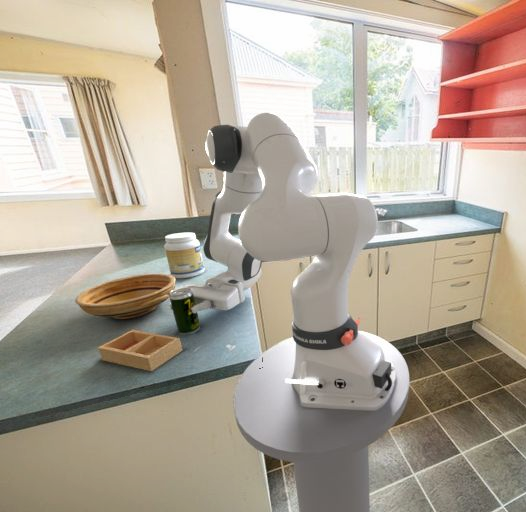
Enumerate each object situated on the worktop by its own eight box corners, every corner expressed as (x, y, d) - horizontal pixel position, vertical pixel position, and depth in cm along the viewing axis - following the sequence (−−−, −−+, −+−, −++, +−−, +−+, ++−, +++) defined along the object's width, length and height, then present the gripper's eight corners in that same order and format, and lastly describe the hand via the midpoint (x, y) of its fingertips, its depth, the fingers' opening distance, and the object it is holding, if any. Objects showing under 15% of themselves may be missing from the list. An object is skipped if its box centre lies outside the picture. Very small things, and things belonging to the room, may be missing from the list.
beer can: (174, 336, 81) (164, 296, 77) (184, 325, 86) (175, 288, 82) (195, 334, 82) (186, 295, 78) (204, 324, 87) (195, 287, 83)
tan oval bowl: (60, 319, 89) (51, 295, 87) (146, 288, 111) (141, 268, 108) (120, 340, 79) (111, 314, 76) (202, 301, 100) (198, 280, 98)
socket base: (182, 350, 75) (179, 338, 74) (151, 371, 68) (147, 358, 66) (136, 341, 79) (133, 329, 78) (102, 360, 71) (97, 347, 70)
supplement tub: (208, 274, 125) (200, 235, 120) (173, 281, 117) (164, 240, 112) (201, 266, 133) (194, 230, 128) (169, 273, 126) (159, 234, 120)
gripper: (191, 276, 95) (149, 294, 82) (246, 282, 90) (209, 303, 77) (195, 294, 97) (155, 314, 84) (248, 301, 92) (214, 324, 79)
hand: (181, 309), depth 81 cm, fingers closed on beer can, 5 cm apart
